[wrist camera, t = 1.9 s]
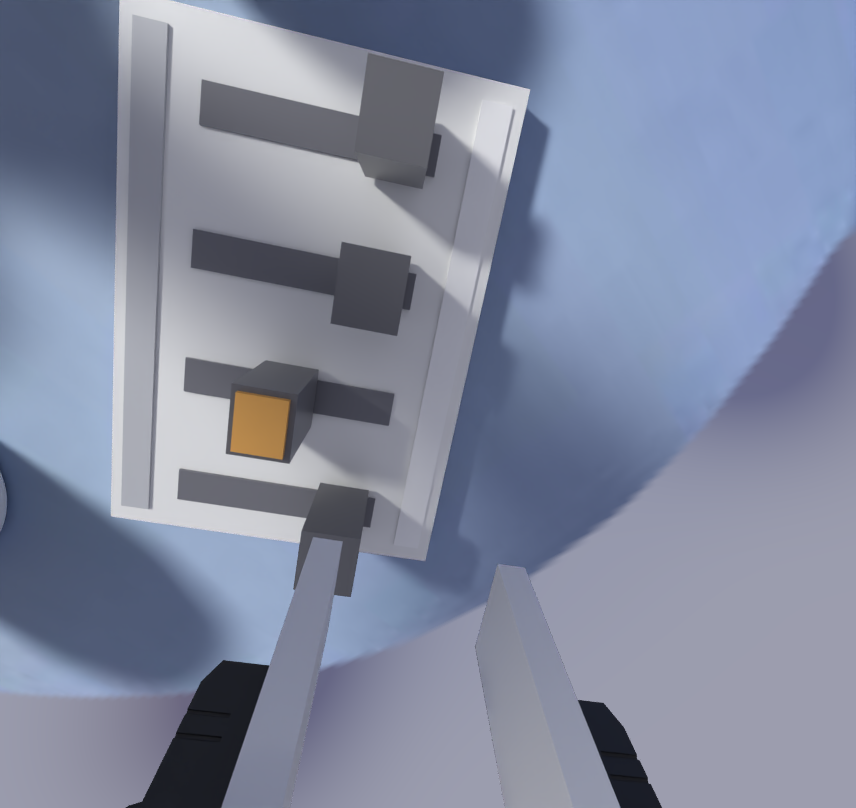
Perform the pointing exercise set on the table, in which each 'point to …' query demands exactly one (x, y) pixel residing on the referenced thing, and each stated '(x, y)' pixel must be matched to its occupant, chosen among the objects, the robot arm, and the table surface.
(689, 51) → the table surface
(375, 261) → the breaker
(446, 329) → the panel
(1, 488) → the supplement tub
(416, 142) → the breaker
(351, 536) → the breaker
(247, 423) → the breaker
